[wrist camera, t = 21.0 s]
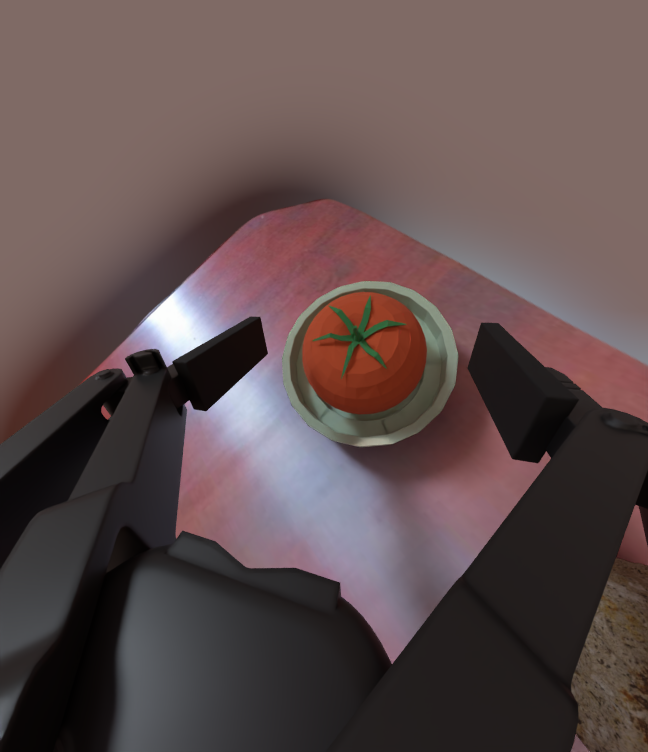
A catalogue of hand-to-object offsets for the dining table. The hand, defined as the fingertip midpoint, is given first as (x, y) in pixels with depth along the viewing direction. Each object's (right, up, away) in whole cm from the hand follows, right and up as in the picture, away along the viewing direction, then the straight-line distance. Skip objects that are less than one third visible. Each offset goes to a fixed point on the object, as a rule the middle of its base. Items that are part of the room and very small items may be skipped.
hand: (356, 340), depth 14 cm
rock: (+18, -21, +2) cm, 28 cm away
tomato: (+2, -1, +10) cm, 10 cm away
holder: (+2, -2, +10) cm, 11 cm away
